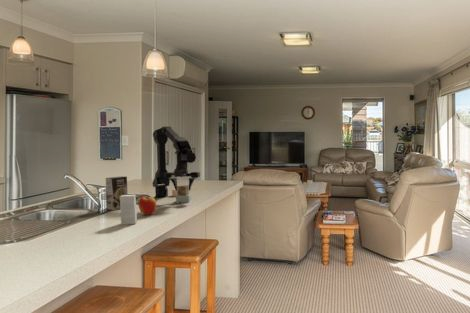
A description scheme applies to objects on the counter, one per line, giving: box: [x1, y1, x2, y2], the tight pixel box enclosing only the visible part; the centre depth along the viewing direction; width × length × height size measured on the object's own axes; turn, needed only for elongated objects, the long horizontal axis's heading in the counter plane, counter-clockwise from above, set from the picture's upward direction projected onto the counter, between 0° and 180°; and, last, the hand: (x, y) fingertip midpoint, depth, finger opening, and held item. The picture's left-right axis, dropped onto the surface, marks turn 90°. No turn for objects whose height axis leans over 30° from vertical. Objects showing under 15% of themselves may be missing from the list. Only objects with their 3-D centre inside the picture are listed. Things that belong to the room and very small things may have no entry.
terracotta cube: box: [171, 188, 178, 197], centre depth 272 cm, size 4×4×4 cm
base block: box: [175, 193, 192, 204], centre depth 249 cm, size 7×7×4 cm
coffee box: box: [105, 176, 129, 211], centre depth 232 cm, size 9×6×16 cm
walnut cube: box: [177, 184, 190, 195], centre depth 248 cm, size 5×5×5 cm
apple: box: [138, 196, 157, 215], centre depth 211 cm, size 8×8×10 cm
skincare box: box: [119, 194, 138, 226], centre depth 191 cm, size 6×4×12 cm
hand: (183, 190), depth 248 cm, fingers open, 7 cm apart
